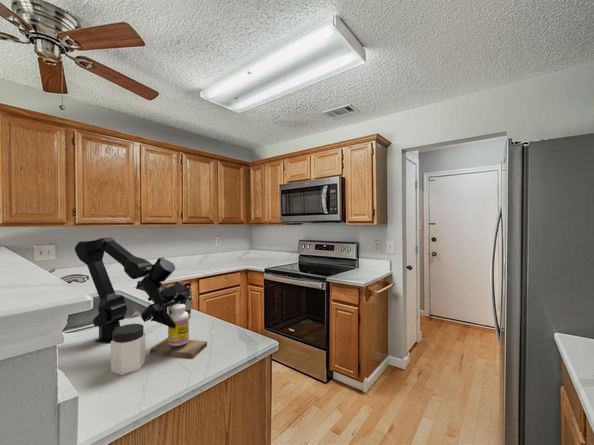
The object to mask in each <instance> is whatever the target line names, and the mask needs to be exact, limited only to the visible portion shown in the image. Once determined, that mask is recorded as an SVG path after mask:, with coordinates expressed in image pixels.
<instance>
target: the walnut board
mask: <svg viewBox="0 0 594 445" xmlns="http://www.w3.org/2000/svg"><path fill="white" fill-rule="evenodd" d="M207 346H208V341H205V340H194V339H189V340H188V342H187V343H185V344H183V345H180V346H171V345H169V343H168V337H167V338H165V339H163V340H162V341H160V342H158V343H157V344H156V345H154V346H152V347H151V348H150V350H149V354H153V355H162V356H172V357H181V358H191V359H194V358H195V357H196V356H197V355H198V354H200V353H201V352H202V351H203V350H204V349H205V348H206V347H207Z"/></svg>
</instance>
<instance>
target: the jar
mask: <svg viewBox="0 0 594 445" xmlns="http://www.w3.org/2000/svg"><path fill="white" fill-rule="evenodd" d="M144 330H145V329H144V325H143V324H142V323H129V324H124V325H120V327H118V328H116V329H114V330H113V334H112V338H113V340H112V341H111V342H110V372H111V373H114V374H117V375H120V376H124V375H127V374H130V373H134V372H137V371H139V370H141V368H142V367H143V365H144V364H145V363H146V334H145V333H144Z"/></svg>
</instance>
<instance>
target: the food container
mask: <svg viewBox="0 0 594 445" xmlns="http://www.w3.org/2000/svg"><path fill="white" fill-rule="evenodd" d="M180 293H181V292H179V293H177V294H176V296H177V295H178V294H180ZM189 294H190V297H189V298H188V299H187V301H186V310H187V313H188V315H189V319H190V318H191V313H192V304H193V301H194V300H195V299H194V296H193V294H192V293H189ZM176 296H175V297H176ZM175 297H174V298H175ZM174 298H173V299H174ZM171 307H172V306H170V307H168V308H167V312H168V314H169V315H170V314H171V313H172V311H171Z"/></svg>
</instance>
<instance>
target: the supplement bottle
mask: <svg viewBox="0 0 594 445" xmlns="http://www.w3.org/2000/svg"><path fill="white" fill-rule="evenodd" d="M185 309H186V305H184V304H177V305H173V306H172V307H171V311H172V313H171V314H170V315H169V316H170V317H171V319H172V320H173V322H174V323H175V325H176V327H175V328H174V329H173V328H171V327H168V326H167V330H168V331H167V332H168V334H167V336H168V337H167V338H168V343H169V345H171V346H180V345H183V344H185V343H187V342H188V340H190V338H189V337H190V335H189V334H190V333H189V332H190V328H189V327H190V325H189V324H190V323H189V320H190V318H189V315H188V313H187V312H186V311H185Z"/></svg>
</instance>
